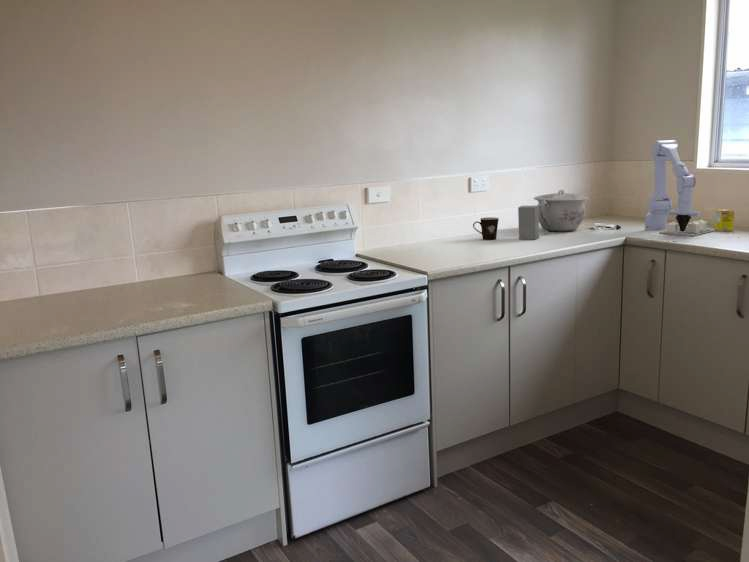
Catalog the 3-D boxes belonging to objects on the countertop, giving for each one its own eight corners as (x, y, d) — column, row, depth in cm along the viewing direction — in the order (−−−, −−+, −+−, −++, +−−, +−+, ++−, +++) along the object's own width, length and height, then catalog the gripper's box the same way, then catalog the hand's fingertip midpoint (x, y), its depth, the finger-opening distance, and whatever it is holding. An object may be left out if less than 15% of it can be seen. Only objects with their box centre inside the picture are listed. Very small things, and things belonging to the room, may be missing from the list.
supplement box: (732, 233, 313) (734, 210, 311) (719, 234, 314) (721, 211, 311) (726, 232, 319) (728, 209, 317) (713, 232, 319) (715, 209, 317)
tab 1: (666, 233, 311) (666, 222, 310) (670, 232, 314) (670, 221, 313) (674, 234, 308) (675, 222, 307) (678, 233, 311) (679, 222, 310)
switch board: (658, 236, 311) (659, 232, 311) (682, 231, 326) (683, 226, 326) (693, 240, 299) (693, 235, 299) (716, 233, 314) (716, 229, 314)
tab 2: (693, 231, 315) (694, 220, 314) (697, 230, 317) (698, 219, 316) (702, 231, 312) (703, 220, 311) (706, 230, 314) (707, 220, 313)
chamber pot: (577, 225, 357) (578, 186, 352) (595, 232, 330) (597, 190, 325) (525, 227, 356) (526, 188, 352) (539, 234, 329) (540, 192, 325)
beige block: (687, 232, 311) (687, 221, 309) (691, 231, 313) (691, 220, 312) (695, 233, 308) (696, 222, 306) (699, 232, 310) (700, 221, 309)
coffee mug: (499, 237, 322) (499, 217, 320) (496, 240, 314) (497, 219, 312) (475, 237, 326) (475, 217, 324) (472, 240, 318) (472, 219, 316)
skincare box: (539, 238, 318) (539, 205, 315) (534, 240, 312) (535, 206, 309) (521, 237, 322) (522, 204, 319) (517, 239, 316) (517, 206, 313)
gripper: (664, 201, 307) (663, 231, 310) (696, 203, 296) (694, 233, 299) (672, 200, 312) (670, 229, 314) (703, 202, 301) (701, 231, 303)
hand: (682, 231), depth 307 cm, fingers closed
